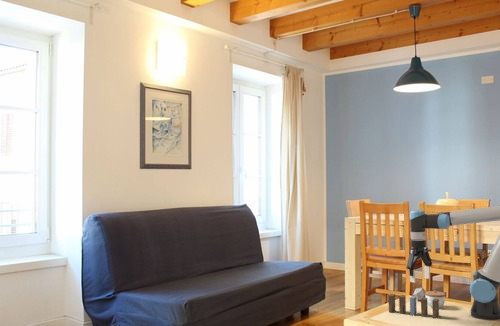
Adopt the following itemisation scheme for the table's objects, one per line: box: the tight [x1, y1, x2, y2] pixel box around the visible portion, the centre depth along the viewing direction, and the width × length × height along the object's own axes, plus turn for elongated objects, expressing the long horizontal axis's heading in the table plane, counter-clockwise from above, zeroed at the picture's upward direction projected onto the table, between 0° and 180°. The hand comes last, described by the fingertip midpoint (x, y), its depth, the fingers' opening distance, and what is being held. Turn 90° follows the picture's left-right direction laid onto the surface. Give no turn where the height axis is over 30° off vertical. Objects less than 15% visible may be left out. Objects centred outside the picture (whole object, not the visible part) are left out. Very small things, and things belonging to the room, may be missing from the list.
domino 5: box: [432, 299, 440, 319], centre depth 265 cm, size 2×5×9 cm, turn 148°
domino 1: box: [388, 293, 396, 314], centre depth 277 cm, size 2×5×9 cm, turn 148°
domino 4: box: [420, 297, 429, 318], centre depth 268 cm, size 2×5×9 cm, turn 148°
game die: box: [411, 286, 427, 302], centre depth 301 cm, size 9×8×10 cm
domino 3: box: [409, 295, 417, 316], centre depth 271 cm, size 2×5×9 cm, turn 148°
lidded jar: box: [425, 289, 446, 309], centre depth 286 cm, size 11×11×9 cm
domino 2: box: [398, 294, 407, 315], centre depth 274 cm, size 2×5×9 cm, turn 148°
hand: (420, 280), depth 270 cm, fingers open, 13 cm apart
